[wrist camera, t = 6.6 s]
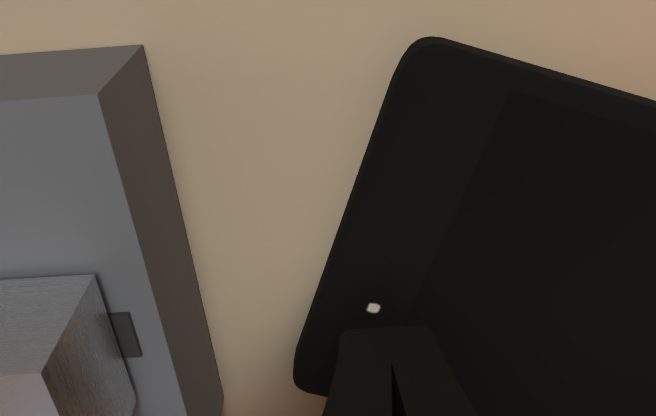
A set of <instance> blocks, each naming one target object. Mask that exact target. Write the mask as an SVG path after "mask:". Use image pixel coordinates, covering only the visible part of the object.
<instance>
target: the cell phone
mask: <svg viewBox="0 0 656 416" xmlns="http://www.w3.org/2000/svg"><path fill="white" fill-rule="evenodd" d="M416 325H426V326H427V327H428V328H429V329H431V330H432V332H433V334H434V337H435V339H436V341H437V343H438V345H439V347H440V350H441V352H442V354H443V356H444V357H445V359H446V361H447V363H448V365H449V367H450V369H451V371H452V372H453V374H454V376H455V378H456V379H457V381H458V383H459V384H460V386H461V388H462V390H463V391H464V393H465V395H466V396H467V398H468V400H469V401H470V403H471V404H472V406H473V408H474V409H475V411H476V412H477V414H478V415H479V416H656V101H654V100H651V99H648V98H644V97H641V96H638V95H634V94H631V93H627V92H624V91H621V90H617V89H614V88H611V87H607V86H604V85H601V84H597V83H594V82H590V81H587V80H584V79H580V78H577V77H574V76H570V75H567V74H564V73H560V72H557V71H553V70H550V69H547V68H543V67H540V66H537V65H533V64H530V63H526V62H523V61H520V60H516V59H513V58H510V57H506V56H503V55H500V54H496V53H493V52H489V51H486V50H483V49H479V48H476V47H472V46H469V45H466V44H462V43H459V42H455V41H452V40H449V39H445V38H441V37H424V38H421V39H418V40H417V41H415V42H414V43H413V44H411V45H410V46H409V48H408V49H407V50H406V52H405V53H404V54H403V56H402V58H401V60H400V62H399V64H398V66H397V68H396V70H395V72H394V74H393V76H392V79H391V82H390V84H389V87H388V90H387V93H386V95H385V98H384V101H383V104H382V107H381V110H380V112H379V115H378V118H377V121H376V124H375V127H374V129H373V132H372V135H371V138H370V141H369V143H368V146H367V149H366V152H365V155H364V158H363V160H362V163H361V166H360V169H359V172H358V175H357V177H356V180H355V183H354V186H353V189H352V192H351V194H350V197H349V200H348V203H347V206H346V209H345V211H344V214H343V217H342V220H341V223H340V226H339V228H338V231H337V234H336V237H335V240H334V243H333V245H332V248H331V251H330V254H329V257H328V259H327V262H326V265H325V268H324V271H323V274H322V276H321V279H320V282H319V285H318V288H317V291H316V293H315V296H314V299H313V302H312V305H311V308H310V310H309V313H308V316H307V319H306V322H305V325H304V327H303V330H302V333H301V336H300V339H299V342H298V344H297V347H296V352H295V358H294V369H293V379H294V383H295V384H296V386H297V387H298V388H300V389H301V390H303V391H305V392H308V393H312V394H316V395H321V396H325V397H328V395H329V391H330V388H331V384H332V380H333V376H334V372H335V368H336V363H337V358H338V352H339V343H340V335H341V334H342V333H343V332H344V331H346V330H347V329H362V328H380V327H398V326H416Z"/></svg>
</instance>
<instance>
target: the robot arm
mask: <svg viewBox="0 0 656 416" xmlns="http://www.w3.org/2000/svg"><path fill="white" fill-rule="evenodd" d="M322 416H479V415H478V414H477V412H476V411H475V409H474V408H473V406H472V404H471V403H470V401H469V400H468V398H467V396H466V395H465V393H464V391H463V390H462V388H461V386H460V384H459V383H458V381H457V379H456V378H455V376H454V374H453V372H452V371H451V369H450V367H449V365H448V363H447V361H446V359H445V357H444V356H443V354H442V352H441V350H440V347H439V345H438V343H437V341H436V339H435V337H434V334H433V332H432V330H431V329H429V328H428V327H427V326H426V325H416V326H398V327H380V328H362V329H347V330H346V331H344V332H343V333H342V334H341V335H340V343H339V352H338V358H337V363H336V368H335V372H334V376H333V380H332V384H331V388H330V391H329V395H328V399H327V402H326V405H325V408H324V411H323V414H322Z"/></svg>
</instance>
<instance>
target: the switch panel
mask: <svg viewBox="0 0 656 416" xmlns="http://www.w3.org/2000/svg"><path fill="white" fill-rule="evenodd" d="M90 274H94V275H95V278H96V281H97V284H98V287H99V290H100V293H101V296H102V299H103V302H104V305H105V308H106V311H107V314H108V317H109V320H110V323H111V326H112V329H113V332H114V335H115V338H116V341H117V344H118V347H119V350H120V353H121V355H122V358H123V361H124V364H125V367H126V370H127V373H128V376H129V379H130V382H131V385H132V388H133V391H134V394H135V397H136V403H135V406H134V409H133V412H132V415H131V416H220V415H221V409H222V404H223V399H224V396H223V391H222V387H221V383H220V378H219V374H218V370H217V365H216V361H215V357H214V352H213V348H212V344H211V339H210V335H209V331H208V326H207V322H206V318H205V313H204V309H203V305H202V300H201V296H200V292H199V287H198V283H197V279H196V274H195V270H194V266H193V261H192V257H191V253H190V248H189V244H188V240H187V235H186V231H185V227H184V222H183V218H182V214H181V209H180V205H179V201H178V196H177V192H176V188H175V183H174V179H173V175H172V170H171V166H170V162H169V157H168V153H167V149H166V144H165V140H164V136H163V131H162V127H161V123H160V118H159V114H158V110H157V105H156V101H155V97H154V92H153V88H152V84H151V79H150V75H149V71H148V66H147V62H146V58H145V53H144V49H143V45H131V46H118V47H104V48H91V49H77V50H64V51H51V52H37V53H24V54H10V55H0V280H8V279H24V278H41V277H57V276H74V275H90Z"/></svg>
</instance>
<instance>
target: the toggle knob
mask: <svg viewBox="0 0 656 416" xmlns="http://www.w3.org/2000/svg"><path fill="white" fill-rule="evenodd" d="M135 403H136V397H135V394H134V391H133V388H132V385H131V382H130V379H129V376H128V373H127V370H126V367H125V364H124V361H123V358H122V355H121V353H120V350H119V347H118V344H117V341H116V338H115V335H114V332H113V329H112V326H111V323H110V320H109V317H108V314H107V311H106V308H105V305H104V302H103V299H102V296H101V293H100V290H99V287H98V284H97V281H96V278H95V275H94V274H90V275H74V276H57V277H41V278H24V279H8V280H0V416H131V415H132V412H133V409H134V406H135Z"/></svg>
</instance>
